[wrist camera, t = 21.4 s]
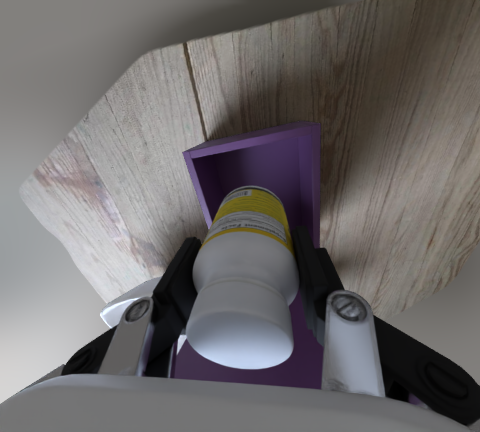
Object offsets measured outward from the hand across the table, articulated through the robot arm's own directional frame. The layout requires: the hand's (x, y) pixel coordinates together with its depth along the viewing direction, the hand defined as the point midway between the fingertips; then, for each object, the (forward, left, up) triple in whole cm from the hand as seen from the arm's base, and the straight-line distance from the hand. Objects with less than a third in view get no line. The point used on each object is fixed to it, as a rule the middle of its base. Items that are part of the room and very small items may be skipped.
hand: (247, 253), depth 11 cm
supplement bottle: (0, 0, -5) cm, 5 cm away
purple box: (+3, 0, -19) cm, 19 cm away
